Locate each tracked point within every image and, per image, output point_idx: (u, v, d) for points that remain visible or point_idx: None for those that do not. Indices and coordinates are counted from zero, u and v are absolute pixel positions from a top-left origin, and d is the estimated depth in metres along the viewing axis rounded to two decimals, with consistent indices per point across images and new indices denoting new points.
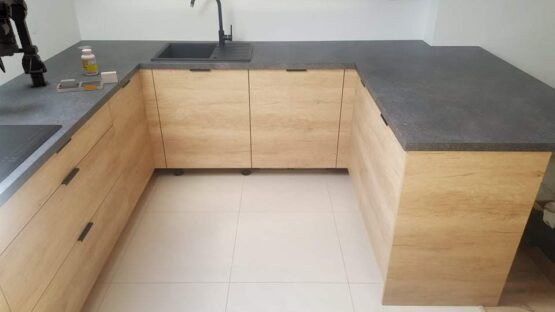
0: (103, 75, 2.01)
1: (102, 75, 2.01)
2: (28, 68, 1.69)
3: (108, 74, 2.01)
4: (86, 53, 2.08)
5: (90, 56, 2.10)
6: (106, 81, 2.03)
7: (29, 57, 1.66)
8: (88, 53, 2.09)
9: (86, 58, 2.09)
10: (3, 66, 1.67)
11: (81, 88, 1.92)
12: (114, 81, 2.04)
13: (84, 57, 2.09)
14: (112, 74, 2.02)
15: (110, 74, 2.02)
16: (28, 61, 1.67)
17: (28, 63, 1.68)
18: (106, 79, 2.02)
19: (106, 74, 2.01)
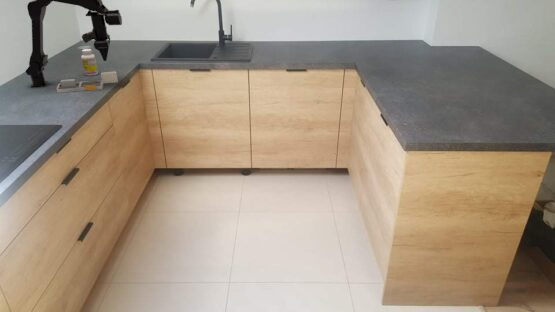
0: (103, 75, 2.01)
1: (102, 75, 2.01)
2: None
3: (108, 74, 2.01)
4: (86, 53, 2.08)
5: (90, 56, 2.10)
6: (106, 81, 2.03)
7: None
8: (88, 53, 2.09)
9: (86, 58, 2.09)
10: None
11: (81, 88, 1.92)
12: (114, 81, 2.04)
13: (84, 57, 2.09)
14: (112, 74, 2.02)
15: (110, 74, 2.02)
16: (100, 52, 1.92)
17: None
18: (106, 79, 2.02)
19: (106, 74, 2.01)
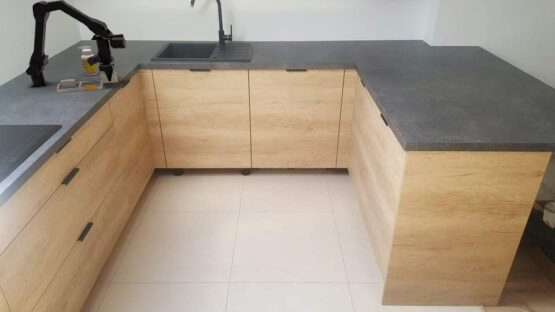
0: (103, 75, 2.01)
1: (102, 75, 2.01)
2: None
3: None
4: (86, 53, 2.08)
5: (90, 56, 2.10)
6: (106, 81, 2.03)
7: None
8: (88, 53, 2.09)
9: (86, 58, 2.09)
10: None
11: (81, 88, 1.92)
12: (114, 81, 2.04)
13: (84, 57, 2.09)
14: (112, 74, 2.02)
15: None
16: (105, 73, 2.00)
17: None
18: (106, 79, 2.02)
19: None
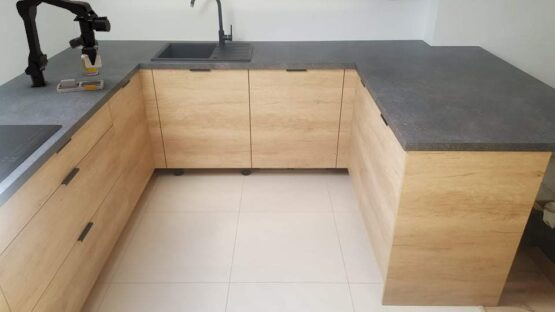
0: (86, 59, 1.92)
1: (85, 59, 1.92)
2: None
3: None
4: None
5: None
6: (89, 65, 1.93)
7: None
8: None
9: None
10: None
11: (81, 88, 1.92)
12: (98, 65, 1.95)
13: None
14: (96, 58, 1.93)
15: None
16: (88, 56, 1.91)
17: None
18: (89, 63, 1.93)
19: None
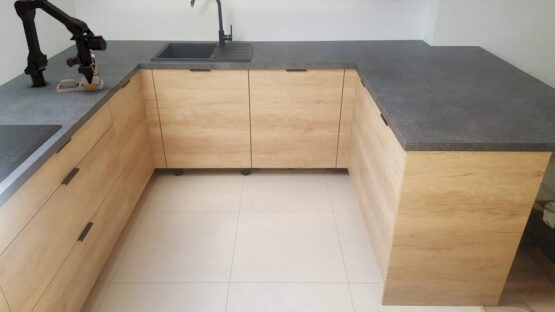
0: (84, 80, 1.94)
1: (83, 80, 1.94)
2: None
3: None
4: None
5: None
6: None
7: None
8: None
9: None
10: None
11: (81, 88, 1.92)
12: None
13: None
14: (93, 79, 1.95)
15: None
16: None
17: None
18: None
19: None
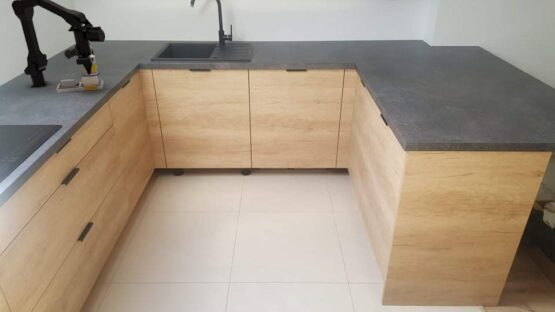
0: (84, 80, 1.94)
1: (83, 80, 1.94)
2: None
3: (89, 79, 1.94)
4: None
5: None
6: None
7: None
8: None
9: None
10: None
11: (81, 88, 1.92)
12: None
13: None
14: (93, 79, 1.95)
15: (91, 79, 1.94)
16: None
17: None
18: None
19: (87, 79, 1.94)
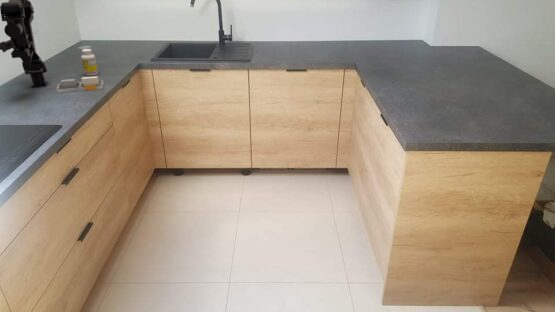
0: (84, 80, 1.94)
1: (83, 80, 1.94)
2: (25, 66, 1.82)
3: (89, 79, 1.94)
4: (86, 53, 2.08)
5: (90, 56, 2.10)
6: None
7: None
8: (88, 53, 2.09)
9: (86, 58, 2.09)
10: None
11: (81, 88, 1.92)
12: None
13: (84, 57, 2.09)
14: (93, 79, 1.95)
15: (91, 79, 1.94)
16: None
17: None
18: None
19: (87, 79, 1.94)
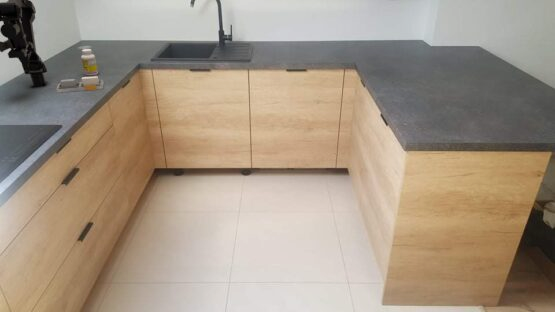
0: (84, 80, 1.94)
1: (83, 80, 1.94)
2: (23, 66, 1.81)
3: (89, 79, 1.94)
4: (86, 53, 2.08)
5: (90, 56, 2.10)
6: None
7: None
8: (88, 53, 2.09)
9: (86, 58, 2.09)
10: None
11: (81, 88, 1.92)
12: None
13: (84, 57, 2.09)
14: (93, 79, 1.95)
15: (91, 79, 1.94)
16: None
17: None
18: None
19: (87, 79, 1.94)
